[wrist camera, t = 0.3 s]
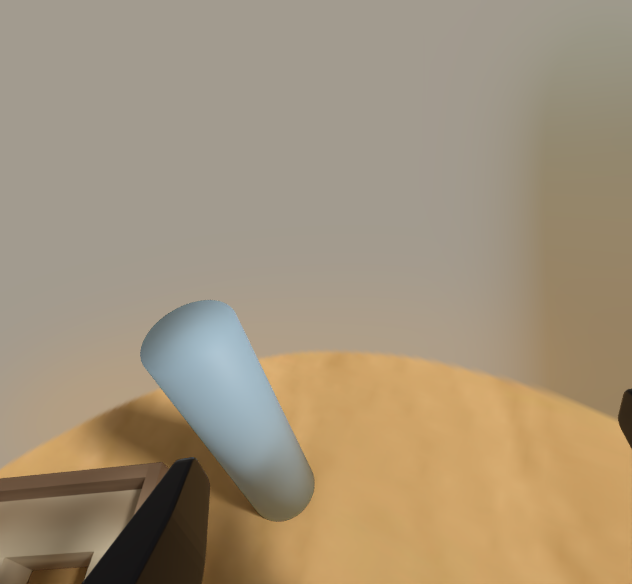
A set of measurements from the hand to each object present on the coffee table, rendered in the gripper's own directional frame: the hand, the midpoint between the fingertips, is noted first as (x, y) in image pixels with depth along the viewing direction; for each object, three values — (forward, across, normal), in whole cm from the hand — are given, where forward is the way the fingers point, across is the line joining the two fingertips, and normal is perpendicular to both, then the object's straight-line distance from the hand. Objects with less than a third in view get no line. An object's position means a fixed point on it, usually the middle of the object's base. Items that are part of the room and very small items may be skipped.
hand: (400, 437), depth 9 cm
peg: (+10, +7, +15) cm, 19 cm away
